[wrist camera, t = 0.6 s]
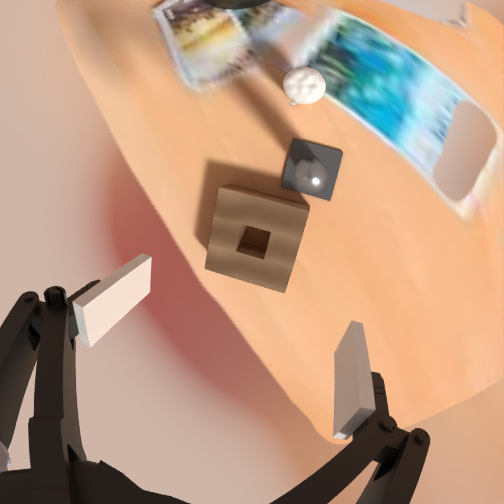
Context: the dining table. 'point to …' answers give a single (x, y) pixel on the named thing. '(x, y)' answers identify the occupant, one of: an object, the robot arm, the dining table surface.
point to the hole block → (262, 217)
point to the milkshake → (304, 87)
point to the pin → (310, 175)
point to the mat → (321, 153)
